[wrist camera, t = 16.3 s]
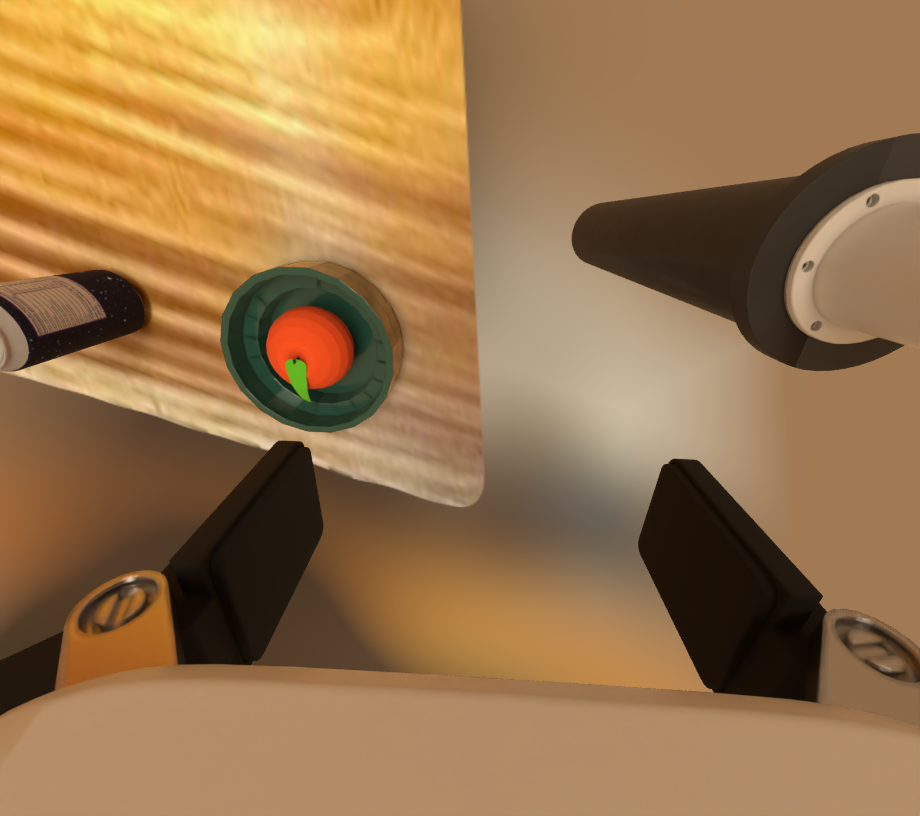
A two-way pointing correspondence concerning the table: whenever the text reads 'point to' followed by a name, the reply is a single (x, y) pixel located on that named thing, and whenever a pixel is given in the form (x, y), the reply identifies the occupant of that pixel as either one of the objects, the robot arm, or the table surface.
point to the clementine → (310, 348)
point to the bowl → (330, 291)
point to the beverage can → (64, 315)
